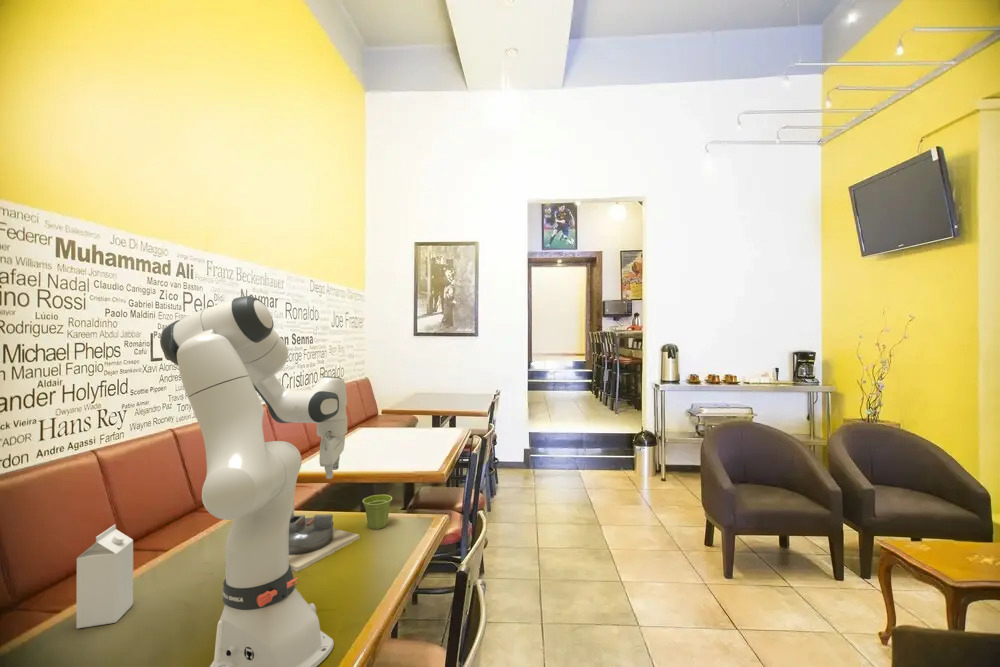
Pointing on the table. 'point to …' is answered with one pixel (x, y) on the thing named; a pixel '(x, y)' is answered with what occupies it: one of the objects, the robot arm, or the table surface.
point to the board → (322, 550)
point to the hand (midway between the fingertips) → (332, 473)
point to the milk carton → (105, 579)
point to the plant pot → (377, 510)
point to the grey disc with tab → (310, 533)
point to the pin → (292, 514)
